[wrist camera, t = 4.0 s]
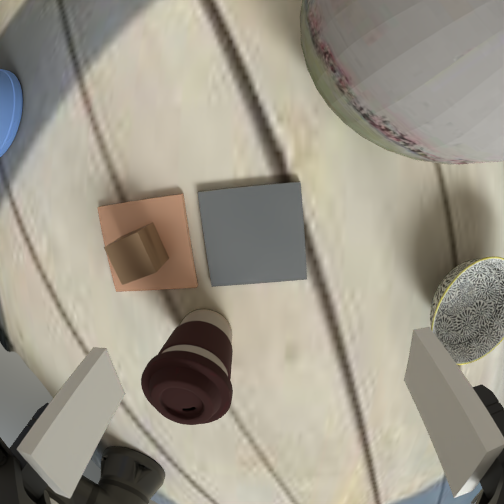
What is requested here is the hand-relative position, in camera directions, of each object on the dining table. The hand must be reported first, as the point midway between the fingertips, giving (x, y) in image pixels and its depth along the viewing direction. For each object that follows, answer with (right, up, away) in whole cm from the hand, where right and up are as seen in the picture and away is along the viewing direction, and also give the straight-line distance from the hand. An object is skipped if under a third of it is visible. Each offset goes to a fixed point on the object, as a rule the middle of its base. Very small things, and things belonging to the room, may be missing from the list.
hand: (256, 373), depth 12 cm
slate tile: (0, +7, +26) cm, 27 cm away
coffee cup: (-7, -6, +31) cm, 32 cm away
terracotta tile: (-14, +6, +28) cm, 31 cm away
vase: (+15, +26, +20) cm, 36 cm away
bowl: (+30, -1, +27) cm, 41 cm away
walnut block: (-14, +6, +27) cm, 31 cm away
